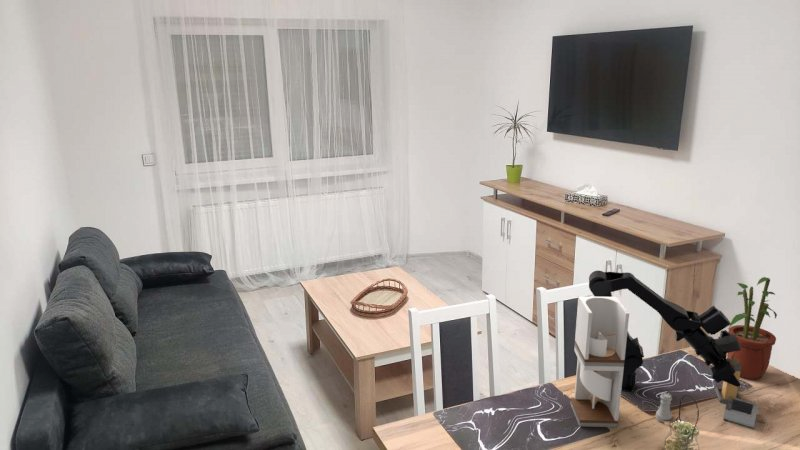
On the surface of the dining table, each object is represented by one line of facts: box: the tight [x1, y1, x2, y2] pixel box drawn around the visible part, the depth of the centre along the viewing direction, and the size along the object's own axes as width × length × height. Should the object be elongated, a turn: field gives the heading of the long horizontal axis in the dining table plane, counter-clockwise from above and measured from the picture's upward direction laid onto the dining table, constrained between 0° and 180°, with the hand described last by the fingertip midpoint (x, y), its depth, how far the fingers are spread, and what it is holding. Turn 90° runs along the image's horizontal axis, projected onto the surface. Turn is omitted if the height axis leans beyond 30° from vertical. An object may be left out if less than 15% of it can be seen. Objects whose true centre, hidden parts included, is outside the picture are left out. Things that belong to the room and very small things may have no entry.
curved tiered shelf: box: [569, 295, 630, 428], centre depth 162 cm, size 11×11×35 cm
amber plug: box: [721, 357, 742, 399], centre depth 172 cm, size 3×4×12 cm
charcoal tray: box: [714, 386, 742, 404], centre depth 173 cm, size 6×7×2 cm
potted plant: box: [726, 276, 778, 380], centre depth 184 cm, size 17×16×35 cm
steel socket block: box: [723, 396, 760, 430], centre depth 163 cm, size 7×8×4 cm
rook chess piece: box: [654, 391, 673, 424], centre depth 164 cm, size 4×4×8 cm
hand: (736, 380), depth 171 cm, fingers open, 6 cm apart
